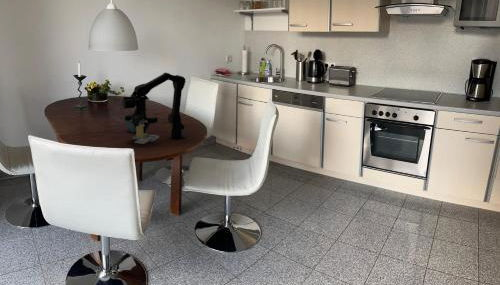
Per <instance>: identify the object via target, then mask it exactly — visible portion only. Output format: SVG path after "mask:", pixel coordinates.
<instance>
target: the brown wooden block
mask: <svg viewBox="0 0 500 285" xmlns="http://www.w3.org/2000/svg"><path fill="white" fill-rule="evenodd" d="M144 127H145V125H144V124H143V125H138V126H136V132H135V135H136V137H137V138H148V137H147V134H148V131H147V132H146V133H145V132H144Z"/></svg>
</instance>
